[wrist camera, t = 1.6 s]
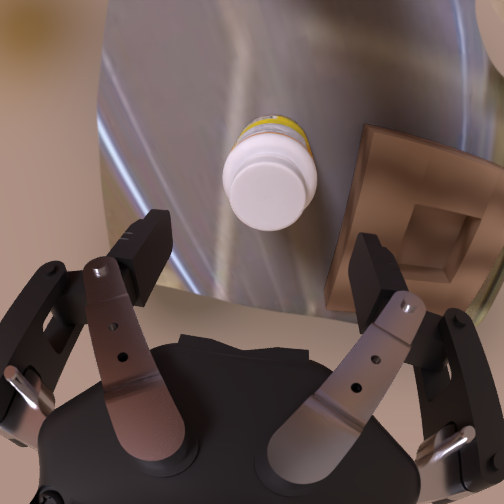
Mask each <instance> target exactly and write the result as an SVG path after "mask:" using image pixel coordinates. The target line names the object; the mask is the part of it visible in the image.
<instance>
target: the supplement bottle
mask: <svg viewBox="0 0 504 504" xmlns="http://www.w3.org/2000/svg"><path fill="white" fill-rule="evenodd" d="M223 186H224V189H225V192H226V195H227V197H228V199H229V200H230V204H231V207H232V209H233V211H234V213H235V214H236V216H237V217H238V218H239V219H240V220H241V221H242V222H243V223H245V224H246V225H248V226H250V227H252V228H254V229H257V230H262V231H276V230H281V229H284V228H286V227H288V226H290V225H291V224H293V223H294V222H295V221H296V220H297V219H298V218H299V217H300V215H301V214H302V212H303V210H304V209H305V208H306V207H307V206H308V205H309V203H310V202H311V200H312V199H313V197H314V194H315V191H316V187H317V171H316V166H315V163H314V159H313V155H312V152H311V149H310V146H309V142H308V139H307V136H306V134H305V132H304V131H303V129H302V128H301V127H300V126H299V125H298V124H297V123H296V122H295V121H294V120H292V119H290V118H288V117H286V116H283V115H277V114H269V115H264V116H261V117H258V118H256V119H254V120H253V121H252V122H250V123H249V124H248V125H247V126H246V128H245V129H244V130H243V132H242V134H241V135H240V137H239V138H238V140H237V142H236V143H235V145H234V147H233V148H232V150H231V152H230V154H229V156H228V158H227V160H226V162H225V165H224V169H223Z"/></svg>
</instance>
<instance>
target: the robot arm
mask: <svg viewBox="0 0 504 504" xmlns="http://www.w3.org/2000/svg"><path fill="white" fill-rule="evenodd" d="M172 247H173V239H172V228H171V217H170V212H169V211H168V210H158V209H151V210H150V211H149V213H148V214H147V215H146V216H145V218H144V219H139V220H138V221H136V222H134V223H133V224H131V225H130V226H129V228H128V229H127V230H126V231H125V233H124V234H123V235H122V236H121V239H119V240H118V241H117V243H116V244H115V245H114V246H113V248H112V249H111V250H110V252H109V253H108V254H107V256H102V257H97V258H95V259H93V260H91V261H89V262H88V263H87V264H86V265H85V266H84V268H83V270H80V271H69V272H67V270H66V267H65V265H64V263H62V262H61V261H51V262H48V263H45V264H44V265H42V266H41V267H40V268H39V269H38V270H37V271H36V272H35V274H34V275H33V276H32V278H31V279H30V280H29V282H28V283H27V285H26V286H25V287H24V288H23V290H22V292H21V293H20V294H19V296H18V297H17V298H16V300H15V301H14V303H13V304H12V306H11V307H10V308H9V310H8V311H7V313H6V314H5V316H4V318H3V319H2V321H1V323H0V435H2V436H3V437H5V438H7V439H9V440H10V441H12V442H13V443H15V444H16V445H18V446H20V447H28V446H29V447H31V448H33V449H35V450H37V451H38V454H39V465H40V479H39V487H38V490H37V493H36V495H35V496H34V498H33V500H32V501H31V502H30V504H425V503H430V502H431V503H433V504H447V503H450V502H453V501H456V500H459V499H462V498H464V497H467V496H470V495H472V494H475V493H477V492H479V491H482V490H484V489H487V488H489V487H491V486H493V485H495V484H498V483H500V482H501V481H503V480H504V418H503V414H502V410H501V406H500V402H499V398H498V394H497V391H496V387H495V384H494V380H493V377H492V374H491V371H490V367H489V364H488V362H487V359H486V356H485V353H484V350H483V347H482V344H481V342H480V339H479V337H478V334H477V331H476V329H475V326H474V324H473V322H472V320H471V318H470V317H469V316H468V315H467V314H466V313H465V312H464V311H462V310H460V309H458V308H449V309H447V310H446V312H445V313H444V315H443V316H441V315H438V314H435V313H432V312H429V311H426V306H425V304H424V302H423V301H422V299H421V298H420V297H418V296H417V295H415V294H414V293H412V292H409V290H408V287H407V285H406V282H405V280H404V277H403V275H402V273H401V271H400V268H399V266H398V265H397V261H396V259H395V257H394V255H393V254H392V253H391V252H390V251H389V250H388V249H387V248H386V247H382V245H381V243H380V241H379V238H378V236H377V235H376V234H371V233H364V232H359V233H358V235H357V238H356V242H355V245H354V248H353V252H352V255H351V258H350V261H349V266H348V277H349V281H350V286H351V290H352V295H353V300H354V305H355V310H356V315H357V320H358V326H359V331H360V334H363V335H362V336H361V338H360V339H359V340H358V342H357V343H356V344H355V345H354V347H353V348H352V349H351V351H350V352H349V353H348V354H347V356H346V357H345V358H344V359H343V361H342V362H341V363H340V364H339V366H338V367H337V368H336V369H335V370H334V372H333V371H331V370H330V369H328V368H327V367H325V366H324V365H322V364H320V363H317V362H315V361H312V360H309V350H303V349H290V348H280V347H274V348H265V349H255V350H240V349H237V348H234V347H232V346H229V345H226V344H224V343H221V342H218V341H216V340H213V339H208V338H202V337H196V336H190V335H184V334H181V335H180V338H179V341H178V343H172V344H165V345H161V346H158V347H156V348H153V349H151V350H149V347H148V345H147V342H146V340H145V337H144V335H143V333H142V330H141V327H140V325H139V322H138V319H137V317H136V314H135V311H134V309H133V306H139V307H144V306H145V304H146V302H147V300H148V298H149V296H150V294H151V292H152V290H153V288H154V286H155V284H156V282H157V280H158V278H159V276H160V274H161V272H162V270H163V268H164V266H165V265H166V263H167V261H168V259H169V257H170V255H171V252H172ZM50 311H51V312H52V314H53V317H52V319H51V320H50V322H49V324H48V325H47V328H46V329H45V331H44V332H43V323H44V321H45V319H46V317H47V316H48V314H49V312H50ZM85 324H88V327H89V332H90V337H91V341H92V346H93V350H94V354H95V358H96V362H97V366H98V370H99V374H100V378H101V381H100V382H98V383H97V384H95V385H94V386H92V387H90V388H89V389H87V390H86V391H84V392H82V393H81V394H79V395H77V396H76V397H74V398H73V399H71V400H69V401H68V402H66V403H65V404H63V405H62V406H60V407H58V408H56V409H54V408H55V397H54V394H53V392H54V389H55V387H56V385H57V382H58V379H59V377H60V375H61V373H62V370H63V368H64V366H65V364H66V362H67V359H68V357H69V355H70V353H71V351H72V349H73V347H74V344H75V343H76V341H77V339H78V336H79V334H80V332H81V330H82V328H83V327H84V325H85ZM403 362H404V363H408V364H411V365H413V368H414V373H415V378H416V384H417V390H418V396H419V403H420V410H421V418H422V427H423V436H424V442H422V444H421V445H420V446H419V448H418V450H417V456H416V459H415V461H413V459H412V458H411V457H410V456H409V455H408V454H407V452H406V451H405V450H404V449H403V448H402V447H401V446H400V445H399V444H398V443H397V442H396V440H395V439H394V438H393V437H392V436H391V435H390V434H389V433H388V432H387V430H386V429H385V428H384V427H383V426H382V425H381V424H380V423H379V422H378V420H377V419H376V418H375V417H374V416H373V415H372V414H373V413H374V411H375V410H376V408H377V407H378V405H379V403H380V401H381V400H382V399H383V397H384V395H385V394H386V392H387V390H388V389H389V387H390V385H391V384H392V382H393V380H394V379H395V377H396V375H397V373H398V371H399V370H400V368H401V366H402V364H403ZM448 363H449V365H450V369H451V374H452V375H451V380H450V376H449V372H448V368H447V364H448Z"/></svg>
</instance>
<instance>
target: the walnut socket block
mask: <svg viewBox="0 0 504 504" xmlns="http://www.w3.org/2000/svg"><path fill="white" fill-rule="evenodd" d="M359 232H364V233H371V234H376V235H377V236H378V238H379V241H380V243H381V245H382V247H386V248H387V249H388V250H389V251H390V252H391V253H392V254H393V255H394V257H395V259H396V261H397V265H398V266H399V268H400V271H401V273H402V275H403V277H404V280H405V282H406V285H407V287H408V290H409V292H412V293H414V294H415V295H417V296H418V297H420V298H421V299H422V301H423V302H424V304H425V306H426V311H429V312H432V313H435V314H438V315H441V316H443V315H444V313H445V312H446V310H447V309H449V308H458V309H460V310H462V311H464V312H465V311H466V310H467V308H468V306H469V305H470V303H471V302H472V300H473V299H474V297H475V296H476V294H477V292H478V291H479V289H480V287H481V286H482V284H483V282H484V281H485V279H486V277H487V276H488V274H489V272H490V270H491V268H492V267H493V265H494V263H495V261H496V259H497V257H498V255H499V254H500V252H501V250H502V248H503V246H504V167H502V166H499V165H497V164H495V163H492V162H490V161H487V160H485V159H482V158H480V157H477V156H474V155H472V154H469V153H466V152H464V151H461V150H458V149H455V148H452V147H449V146H446V145H443V144H440V143H437V142H434V141H430V140H427V139H424V138H420V137H417V136H413V135H410V134H406V133H402V132H398V131H394V130H390V129H386V128H382V127H378V126H373V125H369V124H364V126H363V131H362V137H361V142H360V147H359V152H358V157H357V162H356V167H355V171H354V176H353V181H352V185H351V189H350V194H349V198H348V202H347V206H346V211H345V215H344V219H343V223H342V226H341V230H340V234H339V238H338V242H337V245H336V249H335V253H334V256H333V260H332V263H331V267H330V270H329V274H328V277H327V281H326V284H325V287H324V296H325V306H326V310H336V311H349V312H356V310H355V305H354V300H353V295H352V290H351V286H350V281H349V277H348V266H349V261H350V258H351V255H352V252H353V248H354V245H355V242H356V238H357V235H358V233H359Z"/></svg>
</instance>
